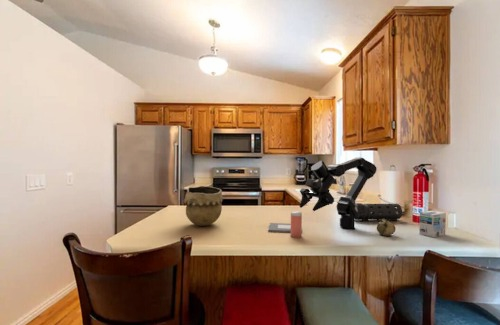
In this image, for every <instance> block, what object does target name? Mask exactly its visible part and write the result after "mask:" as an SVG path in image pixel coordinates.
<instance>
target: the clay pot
mask: <svg viewBox="0 0 500 325" xmlns="http://www.w3.org/2000/svg"><path fill="white" fill-rule="evenodd" d="M222 191H223V190H222V189H221V188H218V187H213V186H210V185H209V186H208V185H200V186H199V185H198V186H194V187H191V186H189V187H187V190H186V193H185V195H184V199H183V201H182V203H183V204H184V205H186V206H185V215H186V217H187V219H188V220H189V221H190V222H191V223H192V224H194V225H196V226H201V227H203V226H210V225H212V224H214V223H215V222H216V221H217V220H218V219H219V218H220V216H221V215H222V211H223V210H222V209H223V208H222V206H223V205H222V203H223V201H224V198H223V192H222Z"/></svg>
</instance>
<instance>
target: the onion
mask: <svg viewBox="0 0 500 325" xmlns="http://www.w3.org/2000/svg"><path fill="white" fill-rule="evenodd" d="M377 223H378V224H377V226H376V231H377V233H378V234H379V235H381V236H384V237H385V236H386V237H390V236H392V235H393V234H394V233H395V232H396V230H397V229H396V226H395V225H394V224H393V223H392V222H390V220H385V219H382V220H381V221H378V222H377Z"/></svg>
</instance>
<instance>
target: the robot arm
mask: <svg viewBox="0 0 500 325" xmlns="http://www.w3.org/2000/svg"><path fill="white" fill-rule="evenodd" d="M354 168H355V169H357V174H358V175H357V177H356V179H355V181H354V182H353V183H352V185H351V187H350V188H349V191H348V192H347V194H346V195H345V196H340V198H339V199H338V201H337V202H336V210H337V214H338V216H340V218H339V226H340V228H341V229H343V230H356V227H355V220H356V219H355V218H356V217H357V216H358V212H357V211H356V209H355V207H356V205H355V203H356V201H357V199H358V197H359V195H360V193H361V192H362V189H363V188H364V186H365V185H366V183H367V181H368V180H370V179H371V178H372V177H374V175H375V174H376V173H377V171H378V170H377V168H378V167H377V166H376V165H375V164H374V163H372V162H371V161H369V160H366V158H364V157H354V158H352V159H350V160H347V161H344V162H342V163H337V164H335V163H334V164H333V163H332V164H329V165H328V166H327V165H326V164H325V162H324V160H319V161H318V162H316V163H315V164H312V166H311V170H312V172H313V173H314V175H315V176H316V177H317V179H311V178H307V179H306V182H305V186H307V187H309V188H306V187H305V188H304V187H301V189H299V193H300V194H301V200H300V203H299V208H300V209H301V208H303V207H304V206H306V205H307V204H308V203H309V202H311V200H313V199H312V198H317V199H318V200H317V201H316V203H315V204H314V206H313V208H312V212H315V211H317V210H320V209H322V208H324V207H326V206H330V205H333V204H334V202H335V198H334V196H332V194H331V192H330V188H331V186H332V185H337V184H338V181H337V178H335V177H338V178H339V177H342V176H343V175H344V174H345V173H346V172H347V171H350V170H352V169H354Z"/></svg>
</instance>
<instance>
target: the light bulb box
mask: <svg viewBox="0 0 500 325" xmlns="http://www.w3.org/2000/svg"><path fill="white" fill-rule="evenodd" d="M446 217H447V213H446V212H443V211H442V212H441V211H438V210H437V211H435V210H427V211H419V227H418V229H419V233H418V234H419V235H423V236H427V237H430V238H436V237H443V236H446V225H447V224H446V223H447V222H446V220H447V218H446Z"/></svg>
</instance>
